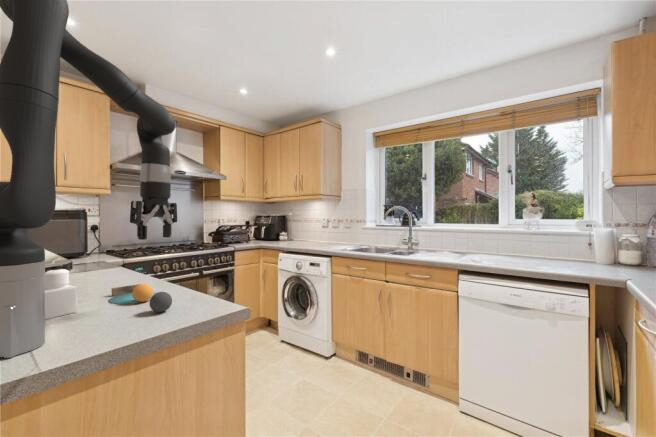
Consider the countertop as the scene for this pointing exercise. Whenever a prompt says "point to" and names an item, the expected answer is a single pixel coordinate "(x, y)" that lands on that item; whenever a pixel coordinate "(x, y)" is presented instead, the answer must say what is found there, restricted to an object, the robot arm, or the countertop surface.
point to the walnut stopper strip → (123, 290)
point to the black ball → (160, 302)
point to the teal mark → (125, 299)
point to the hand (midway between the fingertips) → (155, 238)
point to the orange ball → (142, 292)
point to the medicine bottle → (59, 294)
